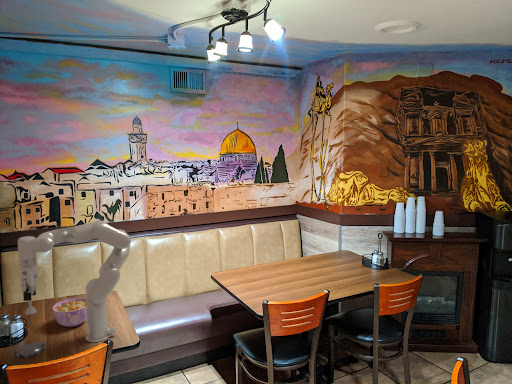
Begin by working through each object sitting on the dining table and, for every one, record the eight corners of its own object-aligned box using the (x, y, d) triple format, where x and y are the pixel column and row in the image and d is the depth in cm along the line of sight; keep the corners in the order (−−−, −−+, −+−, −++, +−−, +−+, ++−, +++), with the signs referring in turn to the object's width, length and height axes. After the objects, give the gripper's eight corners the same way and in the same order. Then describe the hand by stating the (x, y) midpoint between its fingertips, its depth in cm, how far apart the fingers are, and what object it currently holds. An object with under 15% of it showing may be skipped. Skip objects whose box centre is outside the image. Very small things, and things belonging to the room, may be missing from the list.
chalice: (20, 311, 186) (18, 276, 184) (36, 308, 191) (34, 273, 189) (25, 316, 181) (23, 280, 179) (40, 312, 186) (38, 277, 184)
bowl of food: (77, 333, 206) (75, 313, 204) (45, 330, 210) (43, 310, 208) (99, 317, 225) (98, 298, 224) (69, 314, 229) (68, 296, 228)
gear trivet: (49, 343, 196) (49, 340, 196) (41, 356, 184) (41, 353, 183) (22, 345, 193) (21, 343, 193) (11, 359, 181) (11, 357, 181)
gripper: (30, 267, 175) (32, 304, 178) (42, 256, 192) (43, 290, 194) (12, 268, 174) (14, 305, 176) (25, 257, 190) (27, 291, 192)
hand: (29, 297), depth 185 cm, fingers closed on chalice, 5 cm apart
